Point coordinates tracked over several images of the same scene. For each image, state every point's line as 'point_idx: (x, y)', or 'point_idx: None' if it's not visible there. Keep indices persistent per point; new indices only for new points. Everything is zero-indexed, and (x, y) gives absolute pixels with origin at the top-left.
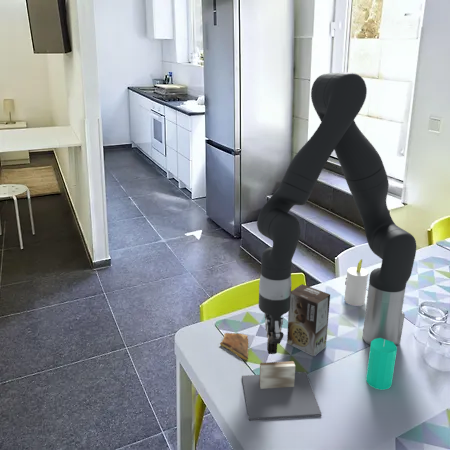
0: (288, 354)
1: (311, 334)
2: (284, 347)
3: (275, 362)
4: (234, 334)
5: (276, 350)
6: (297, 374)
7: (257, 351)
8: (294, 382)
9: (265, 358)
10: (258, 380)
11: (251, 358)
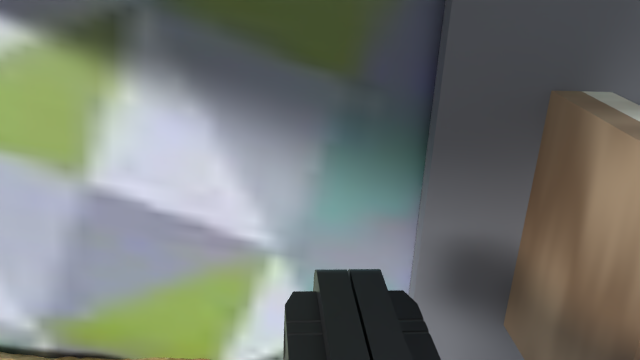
0: (134, 19)
1: None
2: (12, 33)
3: (637, 355)
4: None
5: (384, 288)
6: (475, 21)
7: (88, 281)
8: (564, 75)
9: (189, 233)
10: (470, 327)
11: (184, 331)
